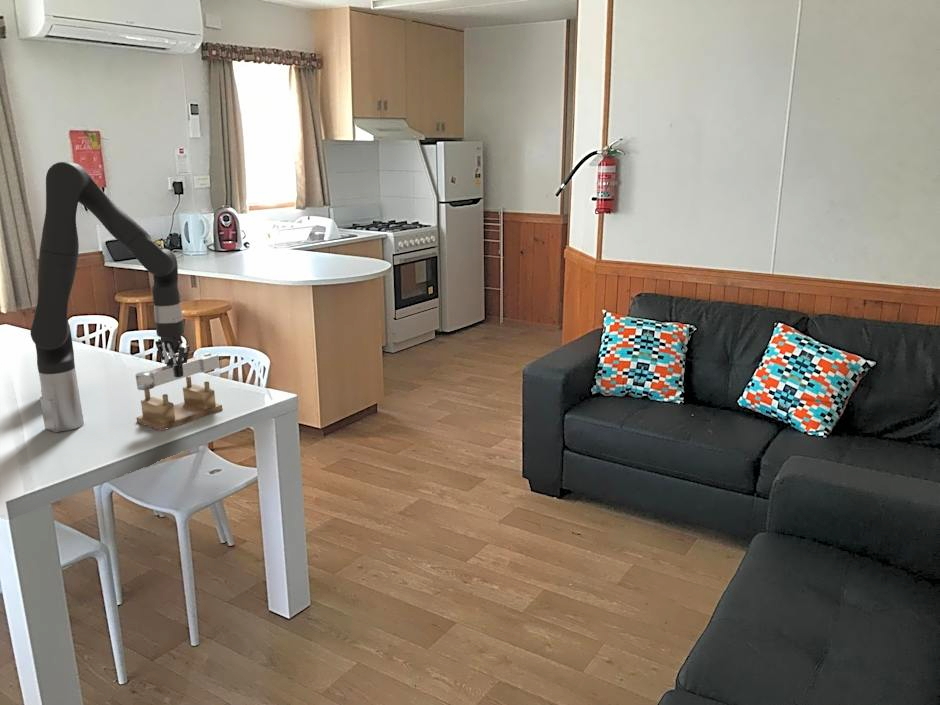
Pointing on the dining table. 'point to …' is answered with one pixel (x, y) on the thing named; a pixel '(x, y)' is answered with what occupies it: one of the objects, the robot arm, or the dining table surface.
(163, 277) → the robot arm
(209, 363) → the long white beam
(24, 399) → the dining table surface
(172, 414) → the tool rest
